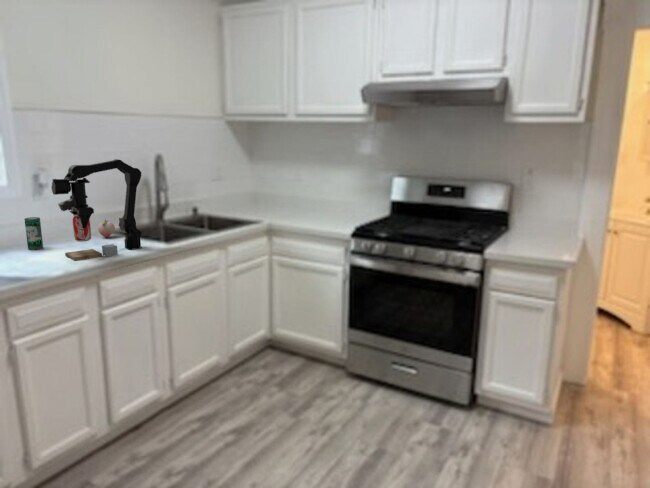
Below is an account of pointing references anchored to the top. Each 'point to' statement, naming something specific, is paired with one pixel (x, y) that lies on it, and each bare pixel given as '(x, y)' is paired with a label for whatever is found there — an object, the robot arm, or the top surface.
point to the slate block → (109, 250)
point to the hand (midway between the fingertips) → (81, 227)
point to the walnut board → (83, 254)
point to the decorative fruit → (106, 228)
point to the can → (33, 233)
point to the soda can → (81, 230)
